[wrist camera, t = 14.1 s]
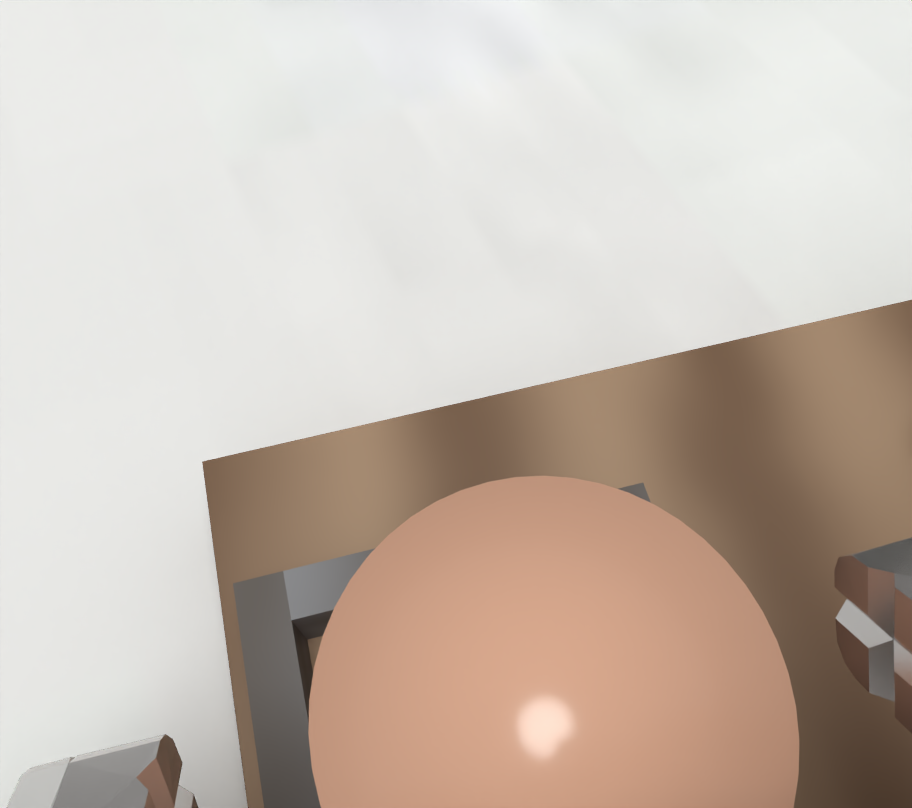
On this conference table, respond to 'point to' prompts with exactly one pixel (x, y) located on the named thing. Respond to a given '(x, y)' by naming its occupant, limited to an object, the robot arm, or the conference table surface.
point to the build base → (619, 466)
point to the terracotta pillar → (550, 663)
